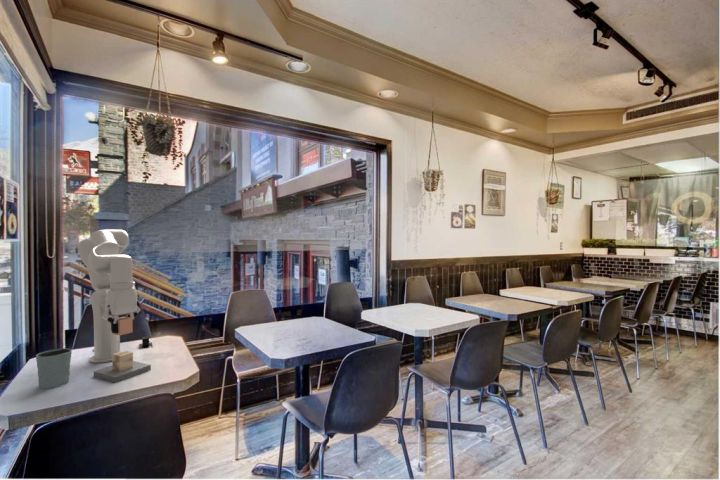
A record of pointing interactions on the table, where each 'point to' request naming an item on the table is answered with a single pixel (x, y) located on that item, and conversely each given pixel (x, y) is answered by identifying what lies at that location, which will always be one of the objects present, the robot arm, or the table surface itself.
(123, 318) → the terracotta block
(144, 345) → the black frame block
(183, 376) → the table surface
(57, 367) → the green cup
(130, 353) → the maple block
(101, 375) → the baseplate
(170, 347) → the table surface
